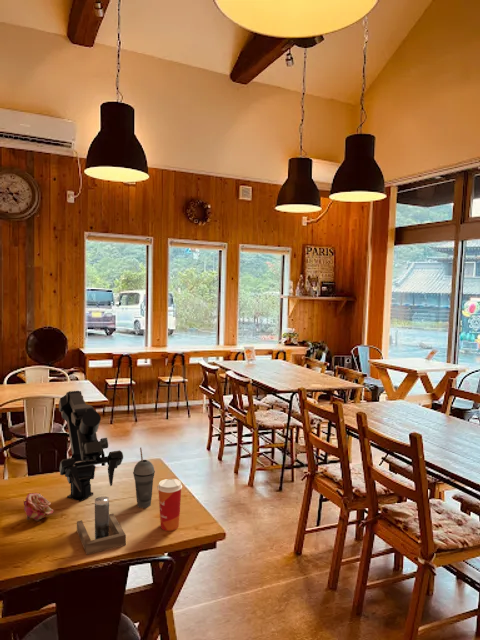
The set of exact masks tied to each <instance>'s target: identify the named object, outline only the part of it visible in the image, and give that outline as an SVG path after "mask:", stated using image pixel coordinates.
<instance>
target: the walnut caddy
mask: <svg viewBox="0 0 480 640" xmlns="http://www.w3.org/2000/svg"><path fill="white" fill-rule="evenodd" d="M109 529H111V531H112V533H113V534H112V535H109V536H108V537H104V538H100V539H95V538H94V539H92V540H91V538H90V536H89V533H88V531H87V529H86V526H85V524H84V522H83V520H78V521H76V533H77V535H78V537H79V539H80V542H81V544H82V547H83V550H84V552H85V554H86V555H87V556H88V555H92V554H96V553H99V552H103V551H107V550H111V549H115V548H118V547H119V548H120V547H123V546H126V544H127V542H126V541H127V540H126V538H127V535H126V533H125V531H124V529H123V528H122V526H121V524H120V523H119V521H118V520H117V518H116V516H115V515H114V513H109Z"/></svg>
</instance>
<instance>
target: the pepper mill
mask: <svg viewBox="0 0 480 640" xmlns="http://www.w3.org/2000/svg"><path fill="white" fill-rule="evenodd" d="M109 514H110V498H109V497H108V496H104V495H103V496H98V497H96V498H95V499H94V540H95V539H100V538H104V537H108V536H110V526H109Z"/></svg>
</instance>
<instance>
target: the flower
mask: <svg viewBox="0 0 480 640" xmlns="http://www.w3.org/2000/svg"><path fill="white" fill-rule="evenodd" d="M51 503H52V502H51V501H49V500H48V499H47V498H46V497H44V496H43V495H42V494H41V493H38V492H35V493H34V492H32V493H28V494H27V495H26V497H25V500H23V505H24V508H23V509H24V510H23V511H24V512H25V514H26V515H25V516H26V521H27V520H29V521H30V520H31V519H33V521H37V522H40V520H41V519H43V518H45V517H47V516H48V515H52V514H53V512H54V509H52V508H51V507H50V505H51Z"/></svg>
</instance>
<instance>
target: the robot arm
mask: <svg viewBox="0 0 480 640" xmlns="http://www.w3.org/2000/svg"><path fill="white" fill-rule="evenodd" d="M58 411H59V412H60V413H61V418H62V419H63V420H64V421H65V422H66V423H67V429H68V436H69V442H70V448H71V457H70V458H64V459H63V458H62V460H61V461H60V463H59V475H60V476H64V477H65V478H66V479H67V482H68V484H70V494H69V495H67V496H66V497H67V499H71V500H75V501H78V502H81V501H84V500H85V499H88V498H89V497H92V496H93V495H94V492H92V484H91V480H94V478H95V473H96V472H95V471H96V465H101V464H107V466H108V467H107V474H108V482H109V485H110V487H112V486H113V481H114V474H115V469H117V468H118V466H120V465H121V464H122V462H123V459H124V454H123V452H122V450H121V449H120V450H114V451H113V450H112V451H109V453H108V455H107V456H102V455H103V450H104V449H105V450H106V449H108V448H109V441H108V437H102V438H101V439H99V440H98V435H97V432H98V430H99V426H100V425H101V424H100V422H101V418H102V416H101V415H100V414H99V412H97V410H96V409H95V407H93V406H92V405H90V404H87V403H86V401H85V400H84V396H83V395H82V391H80V390H71V391H68V392H66V393H65V395H63V396H62V397H60V399H59V402H58Z"/></svg>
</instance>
